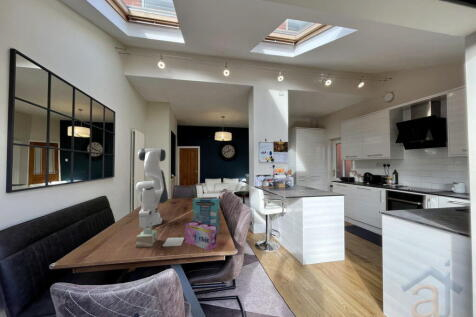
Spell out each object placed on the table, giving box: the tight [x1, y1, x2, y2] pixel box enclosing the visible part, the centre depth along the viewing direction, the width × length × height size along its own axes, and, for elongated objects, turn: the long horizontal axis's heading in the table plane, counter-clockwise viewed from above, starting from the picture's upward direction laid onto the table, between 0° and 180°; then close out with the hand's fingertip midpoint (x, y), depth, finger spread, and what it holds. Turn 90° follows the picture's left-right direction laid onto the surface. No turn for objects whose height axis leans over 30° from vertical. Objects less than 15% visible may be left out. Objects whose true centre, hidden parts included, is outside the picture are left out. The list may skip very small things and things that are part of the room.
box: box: [135, 229, 159, 248], centre depth 134 cm, size 12×10×7 cm
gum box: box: [184, 220, 218, 251], centre depth 133 cm, size 24×8×14 cm, turn 58°
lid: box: [138, 227, 158, 237], centre depth 134 cm, size 10×9×4 cm
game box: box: [192, 197, 220, 235], centre depth 157 cm, size 20×6×27 cm, turn 84°
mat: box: [162, 236, 186, 247], centre depth 136 cm, size 14×12×1 cm
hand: (147, 230), depth 134 cm, fingers open, 8 cm apart
